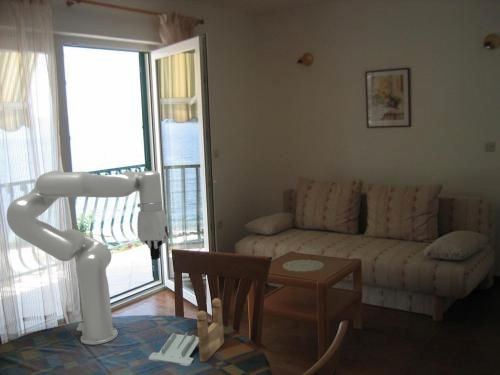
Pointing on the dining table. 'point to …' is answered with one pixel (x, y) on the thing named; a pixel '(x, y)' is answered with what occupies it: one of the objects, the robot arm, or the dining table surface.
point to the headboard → (210, 331)
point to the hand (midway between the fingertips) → (155, 258)
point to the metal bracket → (177, 349)
